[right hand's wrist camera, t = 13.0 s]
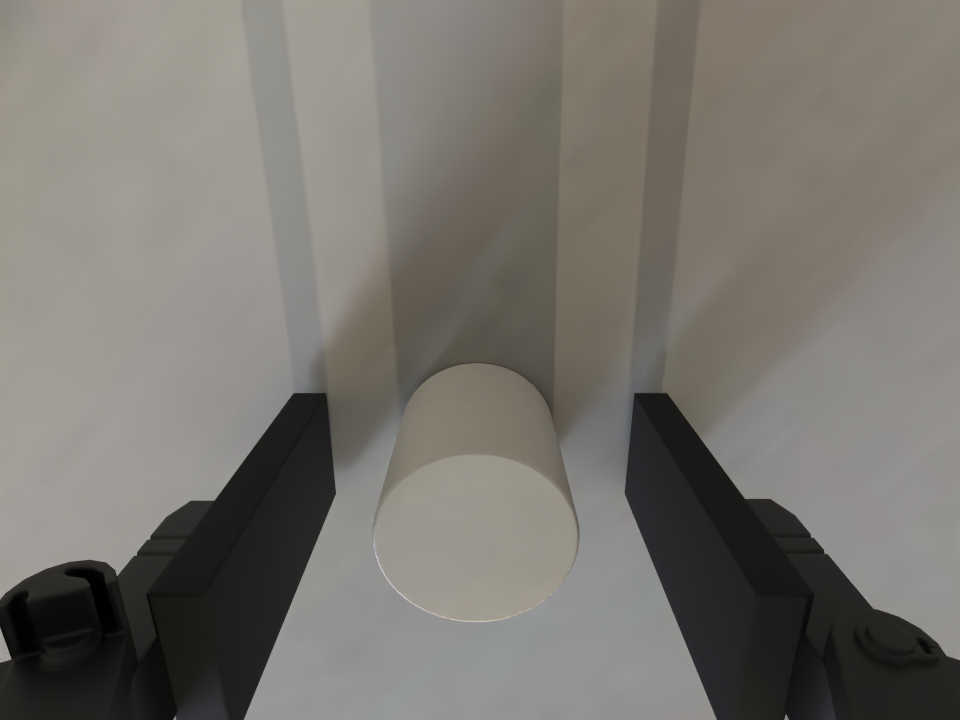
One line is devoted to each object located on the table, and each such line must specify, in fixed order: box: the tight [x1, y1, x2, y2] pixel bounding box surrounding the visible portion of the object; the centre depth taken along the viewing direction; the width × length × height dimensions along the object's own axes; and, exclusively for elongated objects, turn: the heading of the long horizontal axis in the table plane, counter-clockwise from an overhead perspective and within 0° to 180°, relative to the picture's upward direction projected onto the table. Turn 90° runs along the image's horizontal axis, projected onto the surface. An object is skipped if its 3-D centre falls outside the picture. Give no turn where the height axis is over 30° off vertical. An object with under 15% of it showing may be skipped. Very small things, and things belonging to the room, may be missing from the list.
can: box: [373, 363, 579, 622], centre depth 12 cm, size 4×4×4 cm
